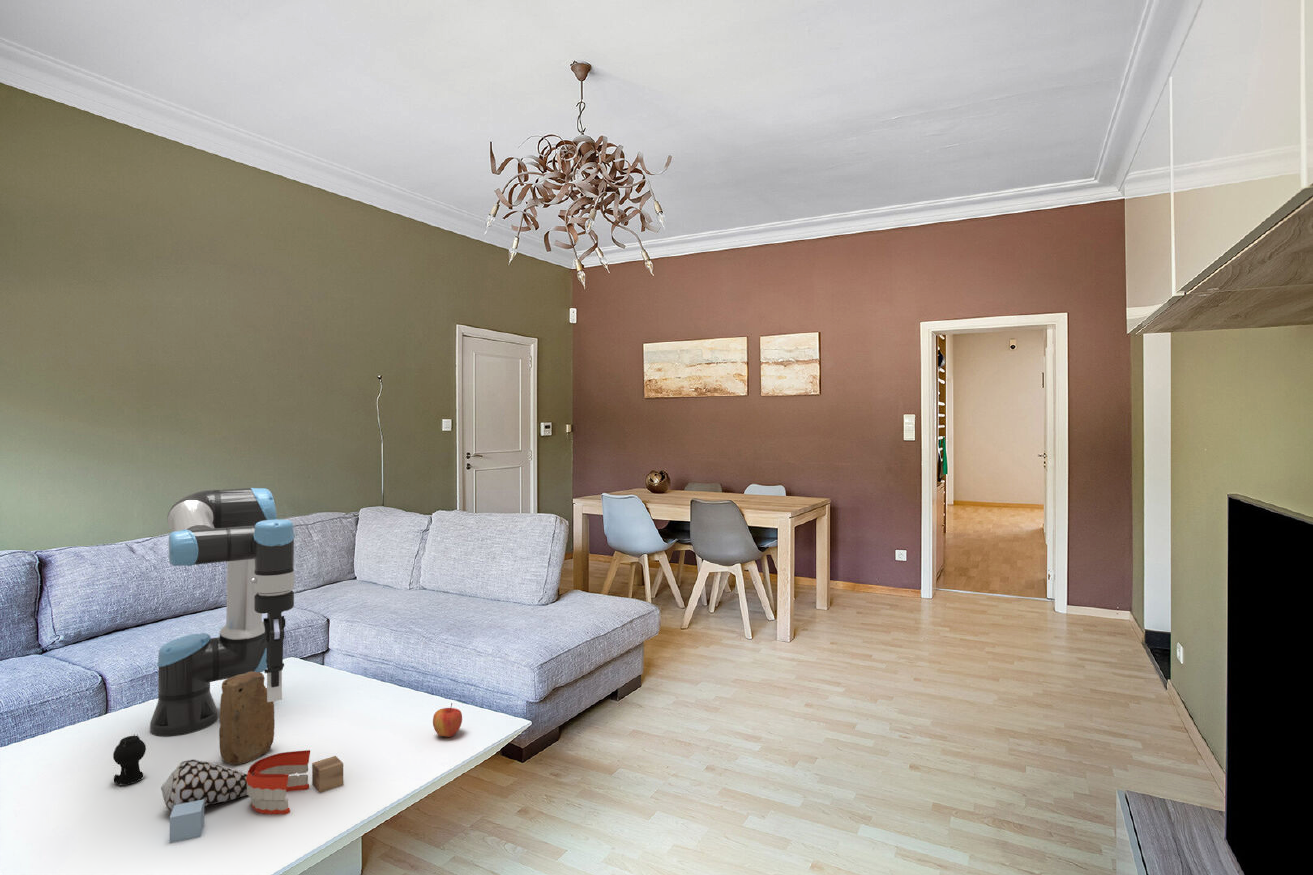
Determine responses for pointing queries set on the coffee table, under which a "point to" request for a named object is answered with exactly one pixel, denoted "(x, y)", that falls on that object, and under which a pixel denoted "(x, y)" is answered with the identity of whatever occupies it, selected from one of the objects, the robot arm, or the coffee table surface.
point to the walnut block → (327, 774)
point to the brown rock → (245, 718)
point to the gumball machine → (129, 760)
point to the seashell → (202, 784)
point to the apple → (447, 721)
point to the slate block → (187, 821)
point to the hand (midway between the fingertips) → (274, 699)
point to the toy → (277, 780)
